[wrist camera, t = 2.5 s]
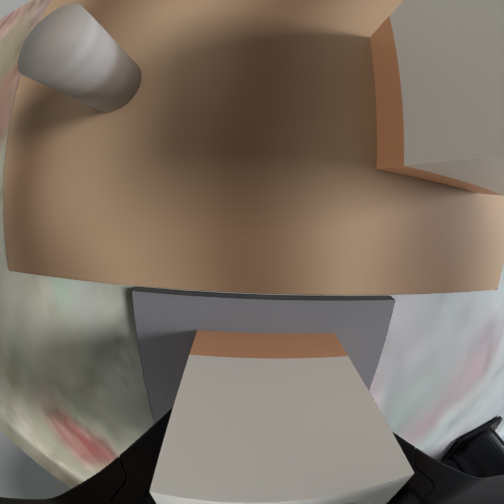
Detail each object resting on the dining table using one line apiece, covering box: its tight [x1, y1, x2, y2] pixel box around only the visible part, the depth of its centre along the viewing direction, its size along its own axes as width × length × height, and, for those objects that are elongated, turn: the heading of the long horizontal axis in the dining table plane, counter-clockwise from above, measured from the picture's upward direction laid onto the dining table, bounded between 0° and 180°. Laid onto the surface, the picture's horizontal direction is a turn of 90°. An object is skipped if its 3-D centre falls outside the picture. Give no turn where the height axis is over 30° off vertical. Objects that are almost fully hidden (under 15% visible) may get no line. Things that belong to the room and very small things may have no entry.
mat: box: [132, 287, 395, 423], centre depth 9 cm, size 9×7×1 cm
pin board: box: [3, 0, 504, 295], centre depth 5 cm, size 20×12×5 cm, turn 87°
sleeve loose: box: [149, 330, 414, 504], centre depth 6 cm, size 5×5×6 cm
